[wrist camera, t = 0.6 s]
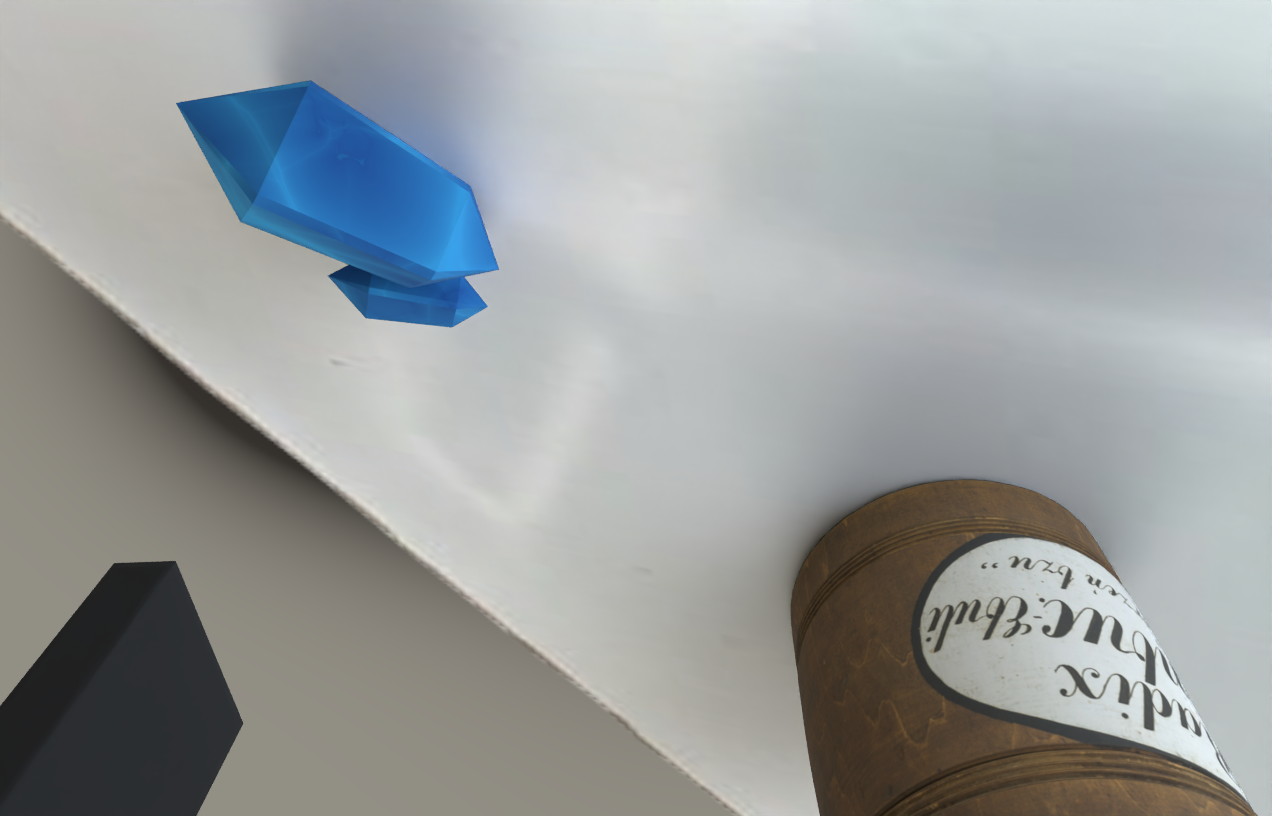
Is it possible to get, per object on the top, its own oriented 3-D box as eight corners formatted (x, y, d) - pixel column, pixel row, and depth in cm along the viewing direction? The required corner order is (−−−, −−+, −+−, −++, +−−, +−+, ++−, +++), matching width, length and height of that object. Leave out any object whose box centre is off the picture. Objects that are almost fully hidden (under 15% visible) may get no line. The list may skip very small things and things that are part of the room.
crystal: (453, 417, 34) (98, 265, 29) (456, 293, 41) (168, 152, 36) (565, 257, 31) (189, 54, 26) (548, 151, 38) (246, -27, 33)
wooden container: (1177, 564, 44) (1541, 1097, 25) (968, 751, 51) (1132, 1284, 32) (916, 420, 41) (1108, 903, 22) (730, 639, 48) (756, 1155, 29)
